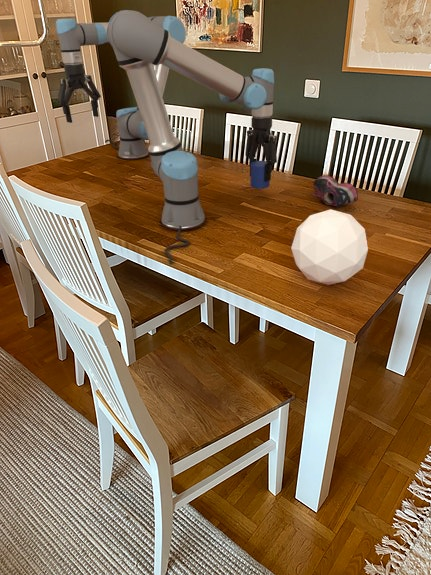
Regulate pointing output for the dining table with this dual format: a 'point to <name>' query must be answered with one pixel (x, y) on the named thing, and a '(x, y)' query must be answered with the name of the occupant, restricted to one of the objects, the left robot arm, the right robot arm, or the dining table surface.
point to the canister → (258, 175)
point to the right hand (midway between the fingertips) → (260, 178)
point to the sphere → (330, 247)
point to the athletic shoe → (334, 191)
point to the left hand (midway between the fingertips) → (83, 119)
